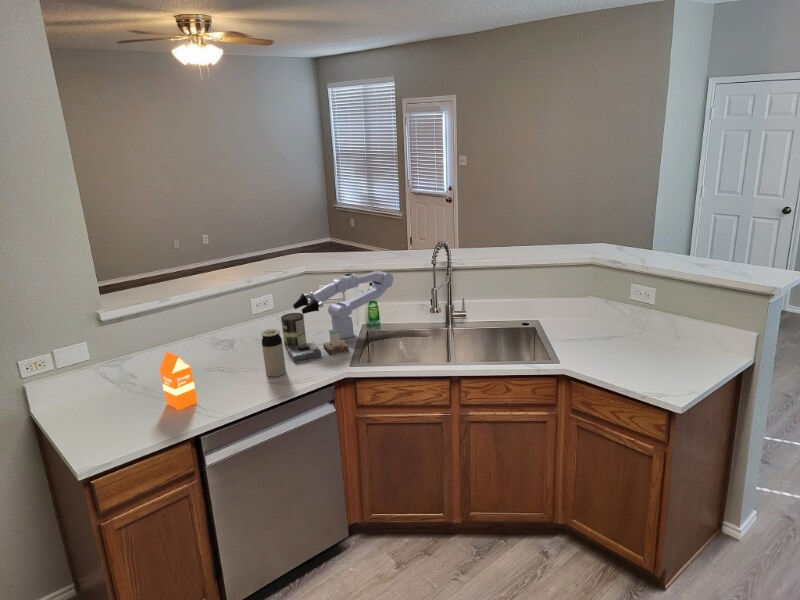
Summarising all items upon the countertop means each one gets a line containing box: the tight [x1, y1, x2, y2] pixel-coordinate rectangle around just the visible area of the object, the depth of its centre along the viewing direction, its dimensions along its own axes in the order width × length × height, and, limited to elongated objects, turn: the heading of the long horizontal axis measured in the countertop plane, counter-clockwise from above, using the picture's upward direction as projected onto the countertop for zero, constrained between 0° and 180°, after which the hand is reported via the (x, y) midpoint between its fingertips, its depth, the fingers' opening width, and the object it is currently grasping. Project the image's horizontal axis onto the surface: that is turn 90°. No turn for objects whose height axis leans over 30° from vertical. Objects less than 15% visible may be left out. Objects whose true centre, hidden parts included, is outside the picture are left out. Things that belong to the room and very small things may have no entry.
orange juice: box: [159, 351, 198, 411], centre depth 211 cm, size 8×9×20 cm
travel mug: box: [260, 328, 287, 378], centre depth 233 cm, size 8×8×18 cm
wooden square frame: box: [322, 339, 350, 356], centre depth 256 cm, size 9×9×2 cm
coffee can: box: [280, 312, 308, 349], centre depth 263 cm, size 10×10×14 cm
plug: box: [328, 329, 341, 347], centre depth 255 cm, size 4×4×9 cm
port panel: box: [287, 342, 322, 364], centre depth 252 cm, size 12×12×3 cm
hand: (298, 309), depth 256 cm, fingers open, 7 cm apart
